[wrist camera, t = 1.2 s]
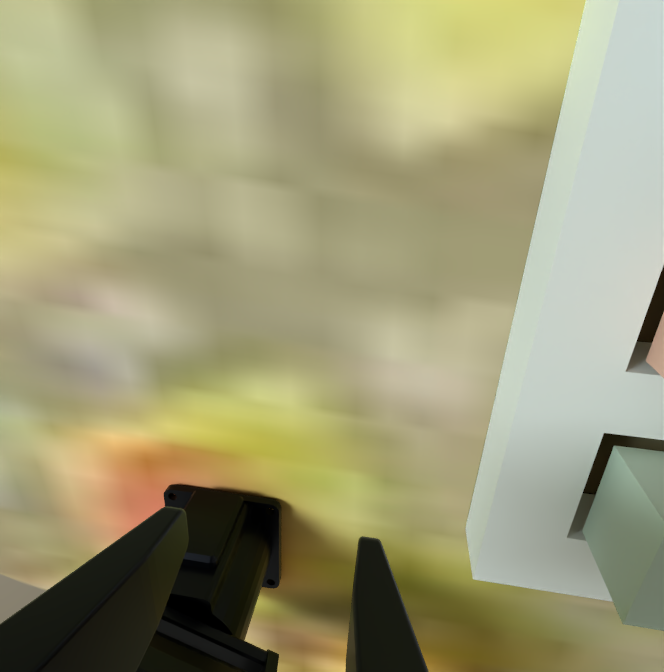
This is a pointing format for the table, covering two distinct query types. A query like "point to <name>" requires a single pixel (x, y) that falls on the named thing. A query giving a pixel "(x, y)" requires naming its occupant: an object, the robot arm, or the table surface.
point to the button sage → (631, 534)
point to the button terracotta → (657, 350)
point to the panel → (580, 312)
